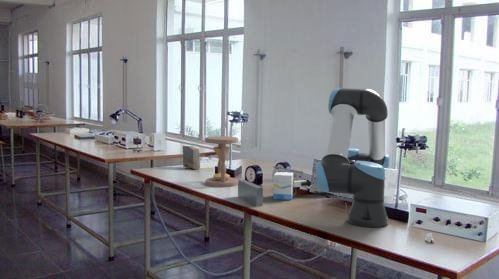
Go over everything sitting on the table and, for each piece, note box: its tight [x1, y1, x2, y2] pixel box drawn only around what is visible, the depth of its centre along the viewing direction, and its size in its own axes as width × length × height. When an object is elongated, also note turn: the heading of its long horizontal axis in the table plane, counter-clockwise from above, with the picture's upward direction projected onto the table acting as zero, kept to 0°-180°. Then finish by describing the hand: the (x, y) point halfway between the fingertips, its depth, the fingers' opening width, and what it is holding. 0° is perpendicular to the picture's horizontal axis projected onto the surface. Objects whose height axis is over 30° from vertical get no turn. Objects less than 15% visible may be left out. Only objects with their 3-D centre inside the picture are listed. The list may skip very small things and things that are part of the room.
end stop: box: [237, 179, 264, 207], centre depth 214 cm, size 20×5×8 cm, turn 25°
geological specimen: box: [182, 145, 201, 170], centre depth 298 cm, size 11×6×15 cm, turn 45°
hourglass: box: [204, 135, 239, 188], centre depth 251 cm, size 18×18×25 cm
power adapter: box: [424, 233, 435, 243], centre depth 159 cm, size 3×3×3 cm
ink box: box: [272, 171, 294, 201], centre depth 221 cm, size 8×8×12 cm
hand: (294, 184), depth 224 cm, fingers closed
